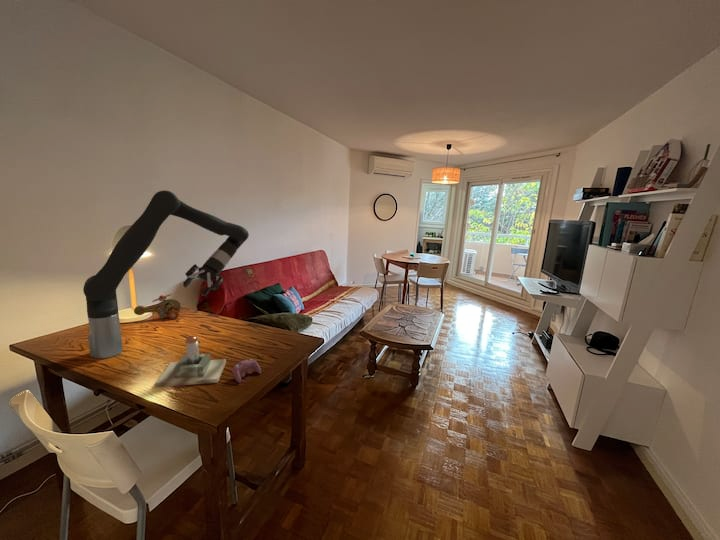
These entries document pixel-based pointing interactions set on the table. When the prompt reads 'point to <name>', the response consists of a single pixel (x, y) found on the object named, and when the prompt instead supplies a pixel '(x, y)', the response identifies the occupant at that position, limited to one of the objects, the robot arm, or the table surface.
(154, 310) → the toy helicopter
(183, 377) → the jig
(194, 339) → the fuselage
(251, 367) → the video game controller
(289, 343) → the table surface
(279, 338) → the table surface
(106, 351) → the robot arm
